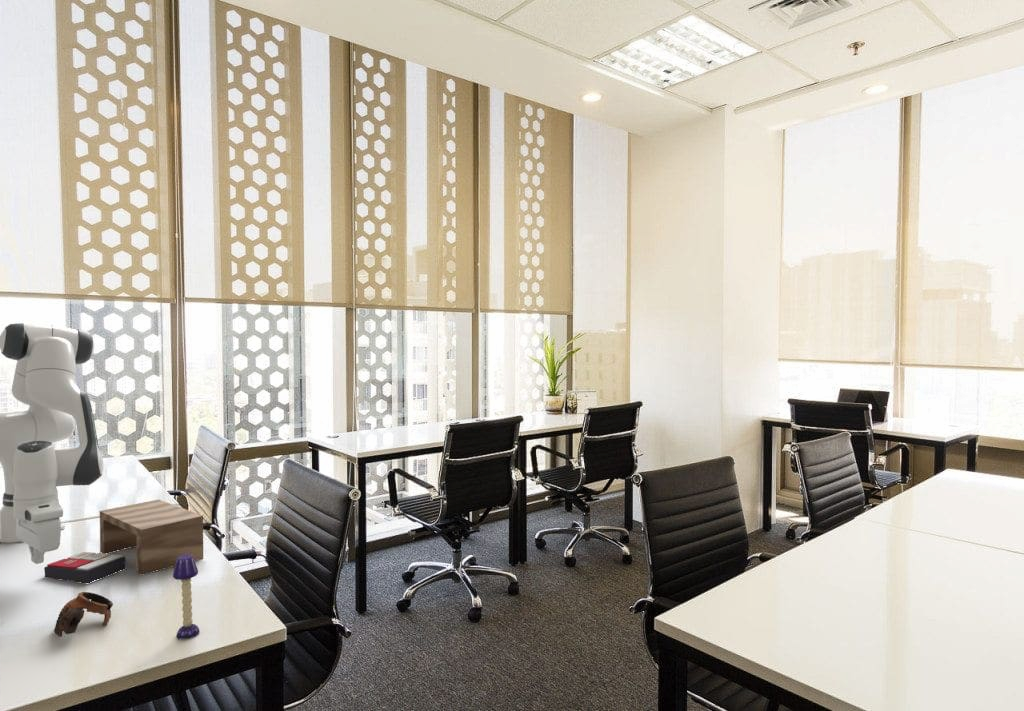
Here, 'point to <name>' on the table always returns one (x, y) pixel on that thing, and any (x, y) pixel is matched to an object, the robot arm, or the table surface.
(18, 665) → the table surface
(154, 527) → the monitor riser
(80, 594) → the brown curved loop
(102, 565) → the calculator
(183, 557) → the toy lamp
